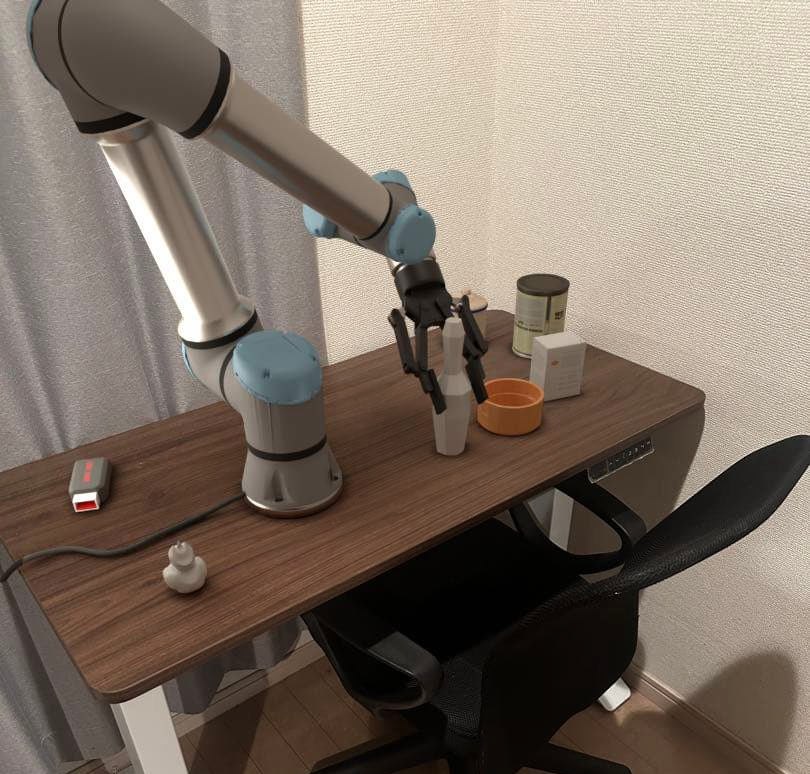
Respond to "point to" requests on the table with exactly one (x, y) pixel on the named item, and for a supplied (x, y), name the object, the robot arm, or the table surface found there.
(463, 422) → the low poly bottle
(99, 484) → the usb drive
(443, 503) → the table surface
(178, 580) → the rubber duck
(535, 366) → the small box
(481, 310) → the teacup with lid
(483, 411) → the bowl
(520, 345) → the coffee can
